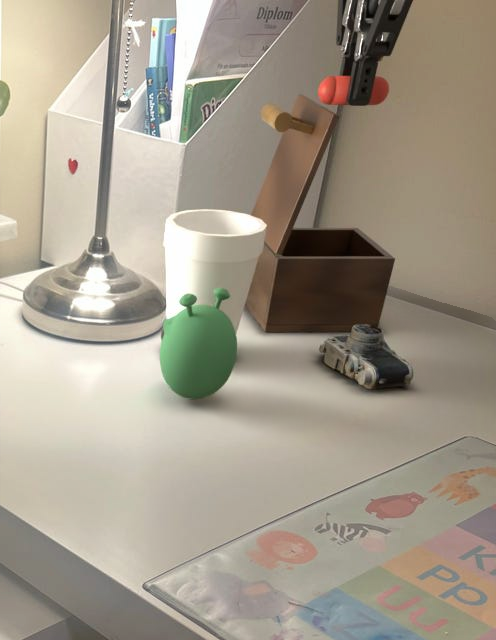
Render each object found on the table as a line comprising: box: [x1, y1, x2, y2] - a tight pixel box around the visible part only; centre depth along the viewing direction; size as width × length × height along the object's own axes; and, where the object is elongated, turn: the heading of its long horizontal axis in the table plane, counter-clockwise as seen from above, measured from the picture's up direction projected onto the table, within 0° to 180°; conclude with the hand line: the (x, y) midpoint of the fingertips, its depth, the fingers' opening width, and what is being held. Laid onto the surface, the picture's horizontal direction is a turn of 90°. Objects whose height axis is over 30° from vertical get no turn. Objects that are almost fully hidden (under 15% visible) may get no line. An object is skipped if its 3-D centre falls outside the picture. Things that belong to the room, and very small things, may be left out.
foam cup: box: [163, 208, 267, 334], centre depth 97 cm, size 10×9×13 cm
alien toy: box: [159, 288, 238, 400], centre depth 90 cm, size 7×8×10 cm
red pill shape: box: [317, 75, 390, 106], centre depth 96 cm, size 7×2×2 cm, turn 94°
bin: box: [245, 227, 396, 333], centre depth 109 cm, size 13×12×8 cm
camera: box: [318, 324, 414, 390], centre depth 97 cm, size 5×10×4 cm, turn 15°
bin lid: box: [250, 93, 341, 255], centre depth 101 cm, size 13×12×5 cm
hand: (351, 101), depth 97 cm, fingers closed on red pill shape, 2 cm apart
